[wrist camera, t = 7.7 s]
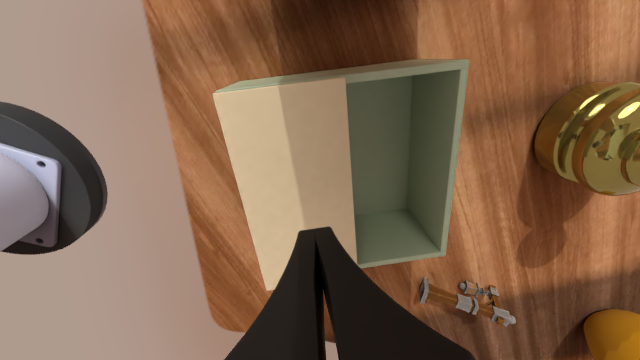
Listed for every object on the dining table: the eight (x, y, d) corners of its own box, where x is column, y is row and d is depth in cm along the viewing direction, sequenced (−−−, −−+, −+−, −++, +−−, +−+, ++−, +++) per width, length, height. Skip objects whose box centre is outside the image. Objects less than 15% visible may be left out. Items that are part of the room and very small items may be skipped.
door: (266, 287, 16) (266, 291, 16) (214, 93, 11) (211, 94, 11) (357, 272, 17) (358, 276, 16) (344, 76, 12) (345, 77, 11)
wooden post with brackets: (500, 297, 27) (514, 336, 23) (419, 273, 29) (419, 305, 25) (507, 284, 26) (523, 322, 22) (423, 260, 28) (424, 291, 24)
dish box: (273, 228, 22) (266, 283, 17) (239, 81, 17) (214, 91, 12) (409, 209, 22) (445, 256, 17) (416, 59, 17) (470, 59, 12)
